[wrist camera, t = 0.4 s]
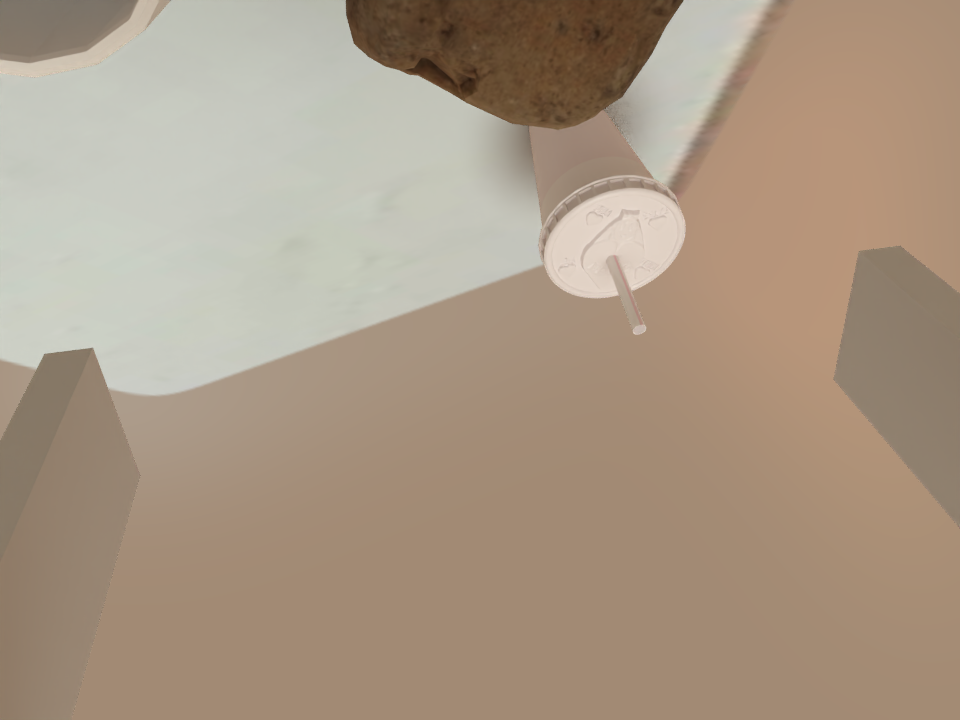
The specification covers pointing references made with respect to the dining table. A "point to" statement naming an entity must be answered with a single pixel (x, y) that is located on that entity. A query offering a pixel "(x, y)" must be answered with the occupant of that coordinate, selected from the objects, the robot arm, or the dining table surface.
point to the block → (517, 50)
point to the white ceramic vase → (68, 32)
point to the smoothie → (602, 214)
